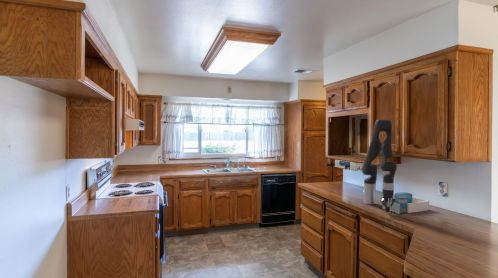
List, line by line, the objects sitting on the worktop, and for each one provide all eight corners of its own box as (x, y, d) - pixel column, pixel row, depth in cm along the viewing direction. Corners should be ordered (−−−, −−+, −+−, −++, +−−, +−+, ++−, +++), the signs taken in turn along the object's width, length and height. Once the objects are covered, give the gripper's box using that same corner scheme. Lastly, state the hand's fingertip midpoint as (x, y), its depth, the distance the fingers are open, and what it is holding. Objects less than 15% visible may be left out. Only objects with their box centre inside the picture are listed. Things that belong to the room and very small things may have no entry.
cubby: (391, 207, 232) (392, 199, 231) (411, 205, 240) (412, 196, 239) (408, 212, 218) (408, 203, 217) (428, 210, 226) (429, 201, 226)
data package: (397, 209, 223) (397, 193, 223) (394, 207, 228) (394, 192, 227) (412, 208, 225) (412, 193, 224) (408, 207, 229) (408, 192, 229)
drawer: (381, 208, 228) (381, 199, 227) (403, 206, 236) (403, 197, 236) (397, 214, 214) (397, 204, 213) (419, 211, 222) (420, 201, 222)
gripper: (385, 190, 208) (384, 214, 209) (399, 189, 213) (398, 212, 214) (377, 188, 215) (376, 211, 216) (390, 187, 220) (390, 209, 221)
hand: (387, 211), depth 215 cm, fingers closed
